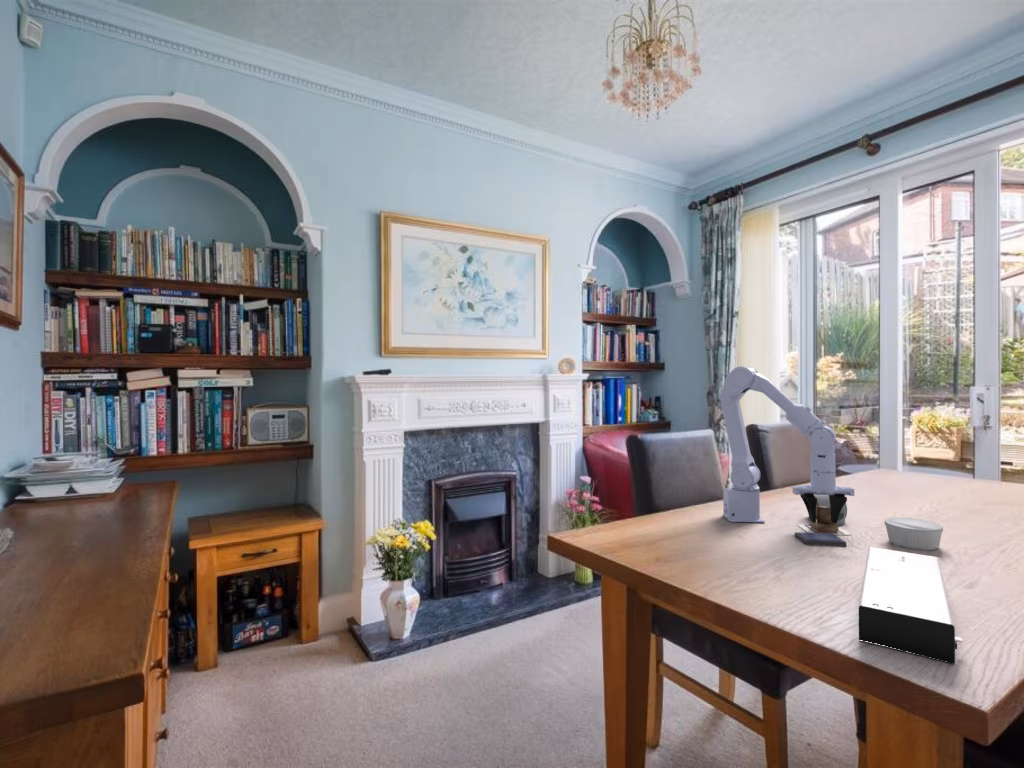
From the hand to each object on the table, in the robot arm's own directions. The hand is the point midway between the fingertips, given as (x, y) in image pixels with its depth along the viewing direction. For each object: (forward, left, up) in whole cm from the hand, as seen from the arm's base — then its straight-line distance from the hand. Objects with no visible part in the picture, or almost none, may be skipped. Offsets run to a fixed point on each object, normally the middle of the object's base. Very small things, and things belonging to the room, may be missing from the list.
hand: (823, 521), depth 136 cm
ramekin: (+16, -10, -2) cm, 19 cm away
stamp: (0, 0, -2) cm, 2 cm away
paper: (0, 0, -2) cm, 2 cm away
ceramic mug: (+6, +10, -2) cm, 12 cm away
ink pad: (-5, -10, -2) cm, 11 cm away
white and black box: (-7, -50, -3) cm, 51 cm away
